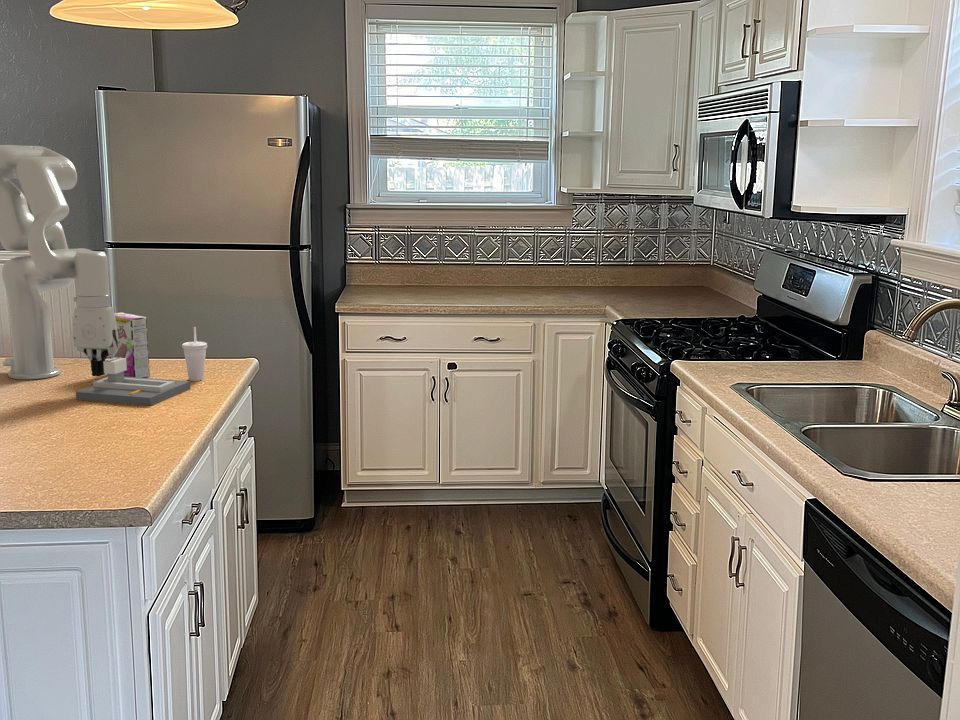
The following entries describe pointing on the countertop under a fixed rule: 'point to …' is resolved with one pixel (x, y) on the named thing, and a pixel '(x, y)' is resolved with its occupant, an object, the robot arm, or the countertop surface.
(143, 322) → the candy bar box
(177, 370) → the countertop surface
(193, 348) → the smoothie
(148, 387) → the board
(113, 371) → the fader knob
